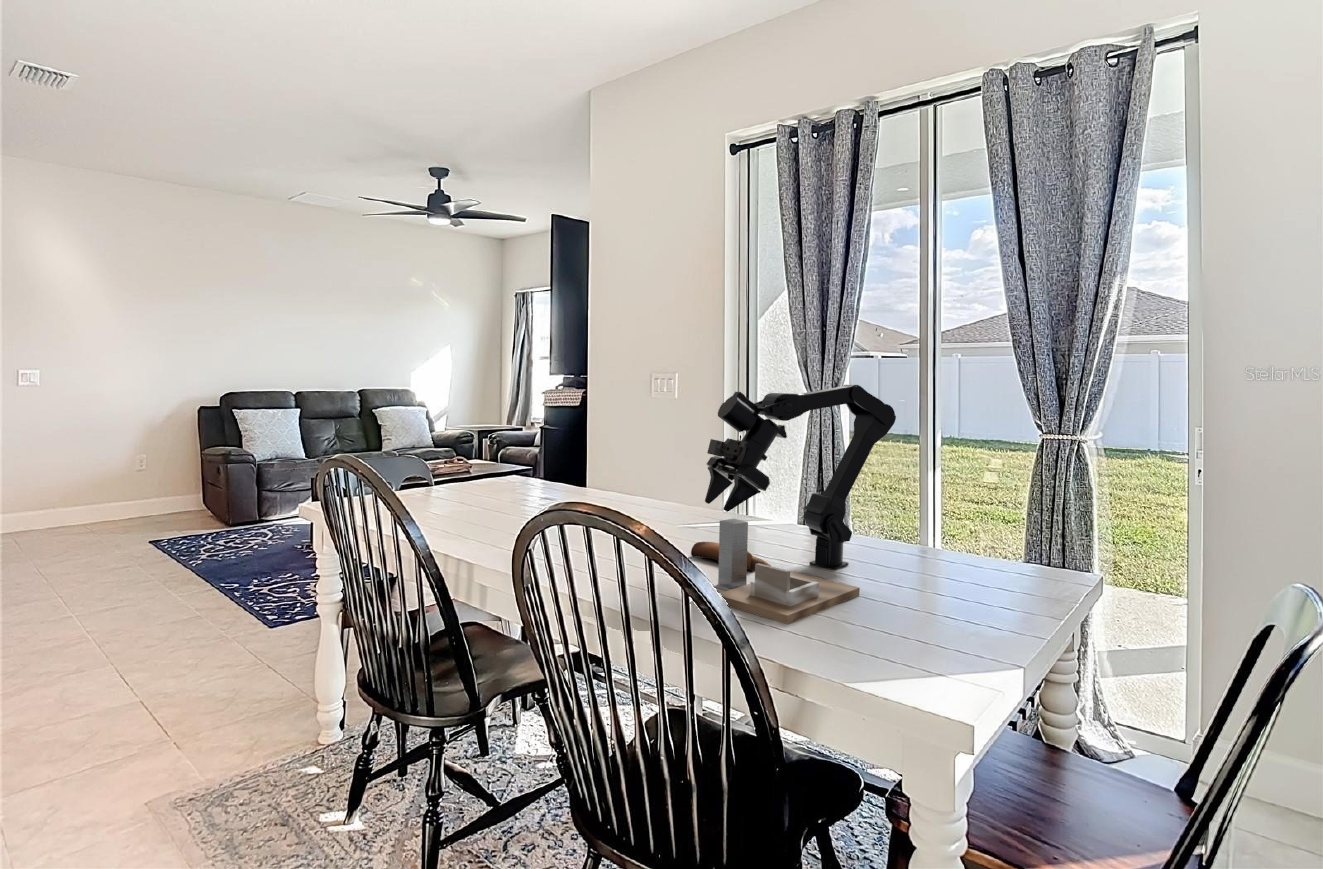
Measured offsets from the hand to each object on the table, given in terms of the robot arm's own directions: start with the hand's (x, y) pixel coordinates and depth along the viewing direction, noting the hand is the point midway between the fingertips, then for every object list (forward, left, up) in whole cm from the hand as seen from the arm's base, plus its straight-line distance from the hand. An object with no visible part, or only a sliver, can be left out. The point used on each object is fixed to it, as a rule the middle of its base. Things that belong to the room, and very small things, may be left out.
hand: (715, 506), depth 150 cm
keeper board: (+1, +20, -15) cm, 25 cm away
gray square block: (+2, +7, -15) cm, 16 cm away
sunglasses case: (-12, -5, -15) cm, 20 cm away
